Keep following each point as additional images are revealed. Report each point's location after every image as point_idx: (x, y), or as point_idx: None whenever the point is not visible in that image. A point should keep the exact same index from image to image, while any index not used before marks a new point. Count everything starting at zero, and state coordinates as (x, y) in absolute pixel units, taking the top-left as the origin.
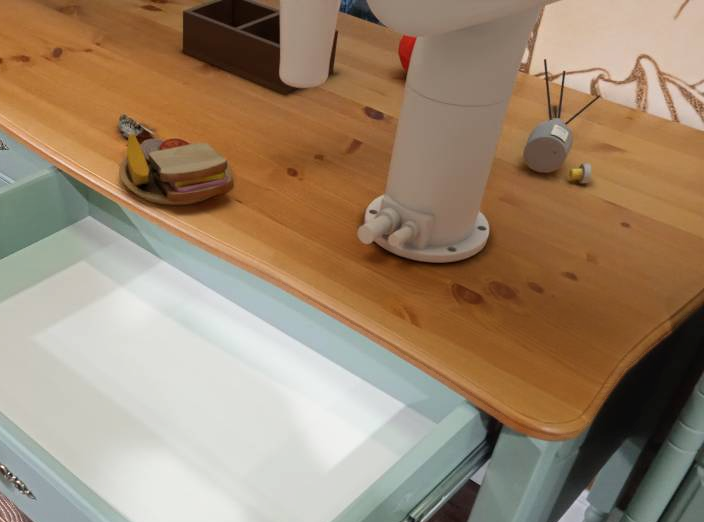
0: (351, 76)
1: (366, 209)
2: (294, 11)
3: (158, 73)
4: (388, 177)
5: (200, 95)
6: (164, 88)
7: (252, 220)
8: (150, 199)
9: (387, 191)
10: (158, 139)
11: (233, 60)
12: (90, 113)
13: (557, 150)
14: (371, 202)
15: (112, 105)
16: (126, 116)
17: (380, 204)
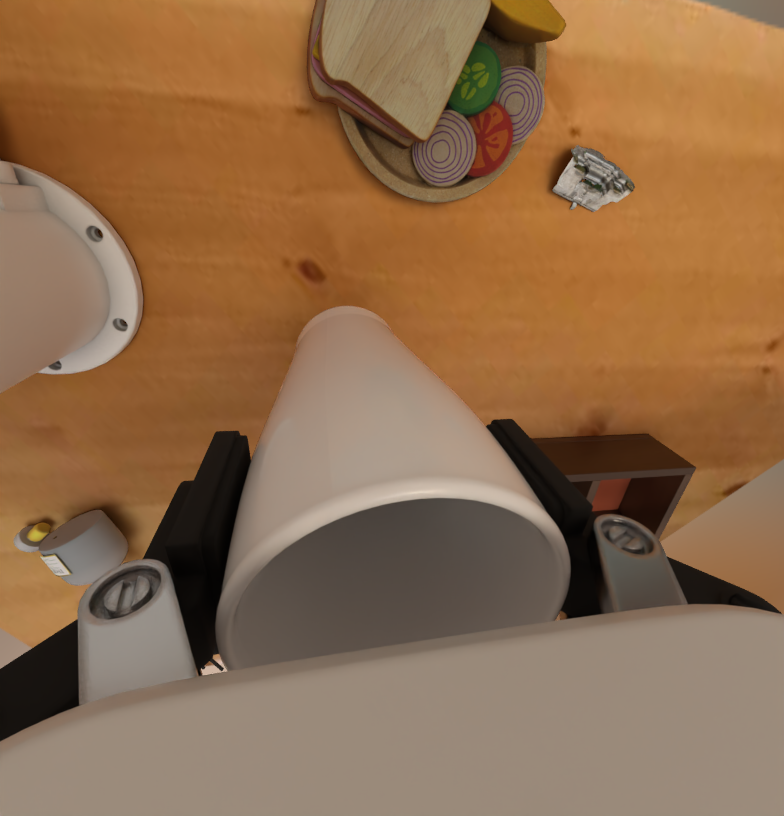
0: None
1: (110, 233)
2: (347, 346)
3: (649, 366)
4: (11, 229)
5: (564, 360)
6: (620, 338)
7: (235, 66)
8: None
9: (13, 216)
10: (526, 136)
11: (570, 447)
12: (687, 182)
13: (49, 541)
14: (126, 260)
15: (666, 234)
16: (624, 190)
17: (109, 265)
